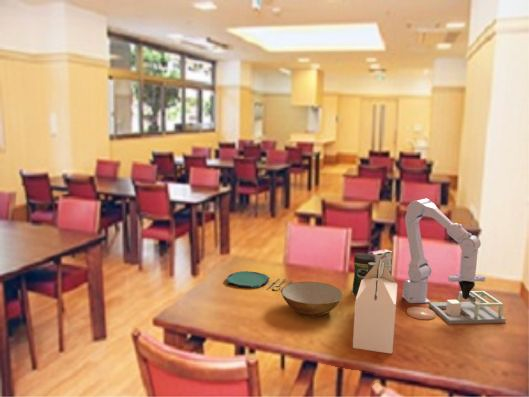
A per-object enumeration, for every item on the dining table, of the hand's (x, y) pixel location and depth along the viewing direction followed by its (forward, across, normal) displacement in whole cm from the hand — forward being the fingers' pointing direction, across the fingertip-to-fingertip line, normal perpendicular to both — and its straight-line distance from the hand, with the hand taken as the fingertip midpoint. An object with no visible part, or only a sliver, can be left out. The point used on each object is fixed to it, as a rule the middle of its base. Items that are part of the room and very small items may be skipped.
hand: (464, 298), depth 197 cm
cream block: (+7, -4, 0) cm, 8 cm away
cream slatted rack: (+5, +7, 0) cm, 8 cm away
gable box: (+7, -44, -18) cm, 48 cm away
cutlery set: (+8, -80, +40) cm, 90 cm away
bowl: (+7, -62, +7) cm, 62 cm away
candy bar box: (+7, -24, +35) cm, 43 cm away
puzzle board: (+7, +2, 0) cm, 7 cm away
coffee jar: (+7, -34, +24) cm, 43 cm away
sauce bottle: (+7, -38, +6) cm, 39 cm away
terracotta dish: (+7, -18, +1) cm, 19 cm away
